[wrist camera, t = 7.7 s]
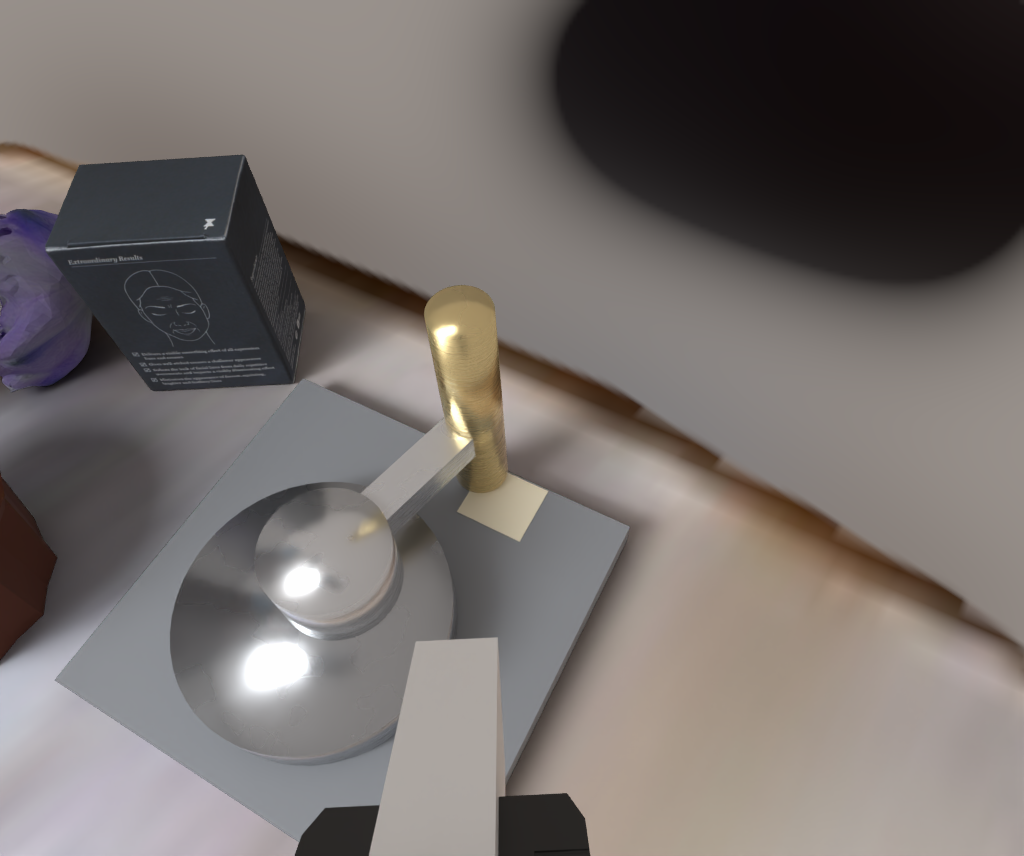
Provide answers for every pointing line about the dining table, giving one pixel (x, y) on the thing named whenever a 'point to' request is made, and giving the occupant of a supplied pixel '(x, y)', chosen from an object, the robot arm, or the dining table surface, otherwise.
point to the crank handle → (341, 576)
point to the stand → (473, 567)
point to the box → (182, 271)
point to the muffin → (20, 569)
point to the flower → (37, 306)
